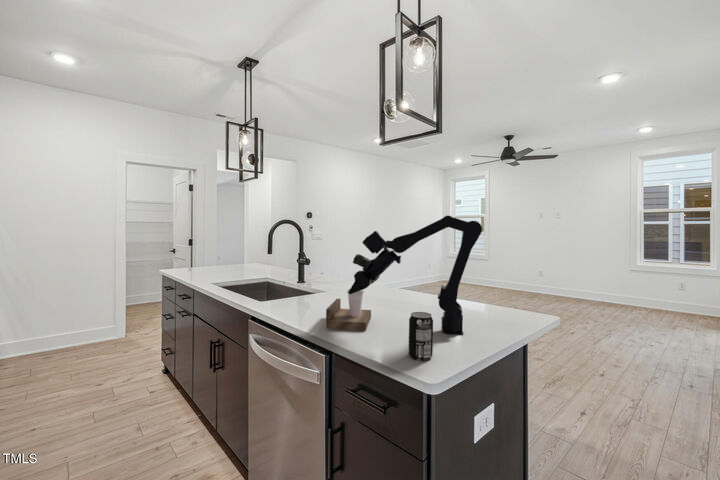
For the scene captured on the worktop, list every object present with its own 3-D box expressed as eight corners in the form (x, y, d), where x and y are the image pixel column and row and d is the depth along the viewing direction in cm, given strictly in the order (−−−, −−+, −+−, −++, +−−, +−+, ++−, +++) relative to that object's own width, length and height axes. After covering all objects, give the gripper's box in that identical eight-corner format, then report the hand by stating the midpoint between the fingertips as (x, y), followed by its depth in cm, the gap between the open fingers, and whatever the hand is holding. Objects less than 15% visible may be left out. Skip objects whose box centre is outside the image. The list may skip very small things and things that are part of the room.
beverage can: (415, 350, 98) (416, 310, 98) (436, 356, 94) (437, 314, 94) (404, 357, 93) (404, 314, 93) (425, 363, 89) (426, 318, 88)
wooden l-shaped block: (371, 317, 134) (371, 300, 133) (365, 331, 116) (365, 311, 116) (336, 315, 136) (336, 298, 135) (326, 329, 118) (326, 309, 117)
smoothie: (354, 318, 120) (354, 280, 120) (343, 315, 125) (343, 278, 124) (367, 315, 124) (367, 278, 124) (356, 312, 129) (356, 276, 129)
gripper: (371, 245, 132) (344, 272, 136) (359, 248, 114) (329, 279, 117) (391, 266, 131) (363, 292, 134) (382, 272, 113) (350, 302, 116)
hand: (352, 291), depth 125 cm, fingers open, 8 cm apart
